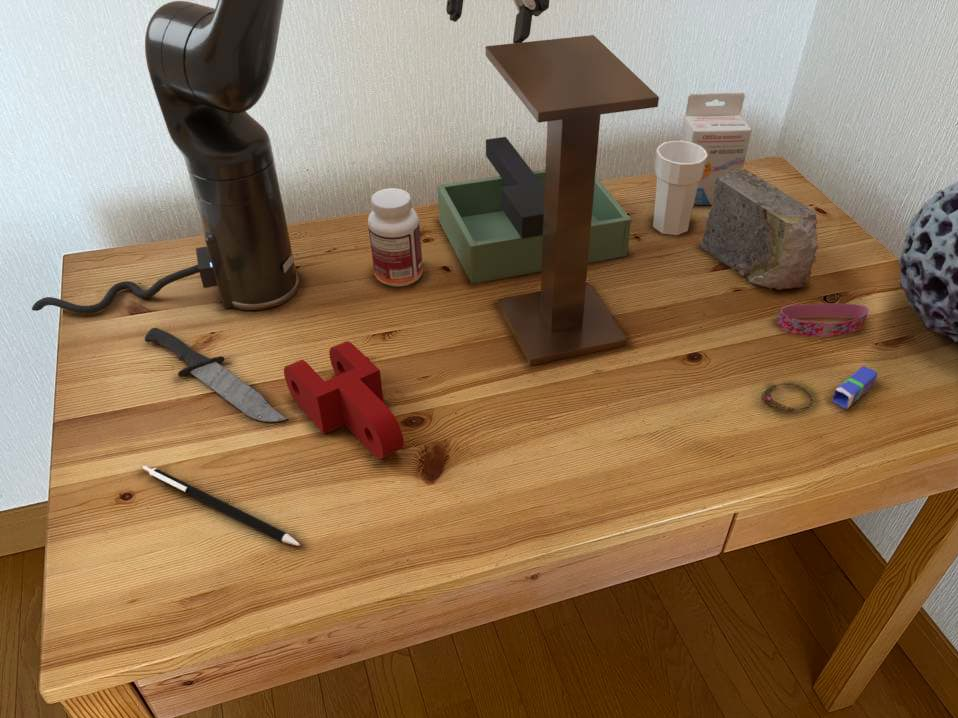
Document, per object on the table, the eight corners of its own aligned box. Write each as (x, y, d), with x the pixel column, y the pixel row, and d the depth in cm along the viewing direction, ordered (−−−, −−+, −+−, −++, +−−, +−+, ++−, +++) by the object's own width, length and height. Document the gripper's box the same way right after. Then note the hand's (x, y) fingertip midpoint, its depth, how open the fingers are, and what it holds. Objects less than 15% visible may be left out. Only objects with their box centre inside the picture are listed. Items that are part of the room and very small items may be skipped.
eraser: (835, 388, 93) (851, 396, 92) (862, 364, 97) (878, 372, 96) (830, 401, 95) (847, 410, 94) (857, 377, 98) (873, 385, 97)
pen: (148, 463, 84) (141, 462, 83) (304, 541, 78) (298, 540, 77) (144, 472, 84) (136, 470, 83) (300, 550, 78) (294, 549, 77)
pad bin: (471, 284, 108) (470, 246, 105) (439, 221, 119) (437, 184, 115) (627, 256, 114) (631, 219, 110) (583, 198, 125) (585, 163, 121)
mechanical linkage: (288, 394, 93) (280, 357, 89) (347, 369, 96) (341, 333, 93) (363, 478, 83) (357, 441, 80) (425, 447, 87) (422, 410, 84)
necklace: (751, 392, 95) (753, 385, 94) (799, 381, 97) (801, 374, 96) (770, 418, 92) (773, 412, 92) (819, 406, 94) (822, 400, 93)
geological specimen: (710, 174, 109) (796, 229, 100) (745, 163, 112) (831, 216, 103) (695, 245, 117) (774, 303, 108) (728, 233, 119) (808, 289, 110)
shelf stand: (530, 366, 97) (538, 112, 77) (487, 287, 108) (485, 45, 88) (626, 345, 101) (659, 96, 80) (576, 270, 111) (593, 34, 91)
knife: (260, 440, 88) (299, 415, 91) (258, 433, 87) (297, 408, 90) (133, 344, 97) (172, 323, 100) (131, 336, 97) (170, 316, 100)
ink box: (680, 207, 124) (696, 109, 114) (671, 189, 127) (686, 93, 117) (736, 204, 125) (757, 107, 115) (726, 187, 128) (746, 91, 118)
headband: (876, 322, 102) (870, 336, 103) (865, 301, 105) (860, 316, 106) (786, 324, 101) (782, 338, 103) (778, 303, 104) (774, 318, 106)
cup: (682, 243, 117) (694, 169, 109) (638, 228, 119) (648, 155, 112) (701, 222, 121) (715, 149, 114) (659, 208, 124) (670, 136, 116)
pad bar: (521, 238, 106) (522, 217, 104) (469, 160, 121) (468, 140, 119) (581, 228, 108) (582, 207, 106) (522, 152, 123) (522, 132, 121)
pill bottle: (397, 255, 113) (389, 179, 105) (433, 271, 110) (428, 195, 103) (364, 276, 109) (354, 199, 101) (400, 294, 106) (393, 216, 99)
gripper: (463, -141, 98) (444, -1, 98) (570, -92, 104) (553, 39, 104) (439, -109, 105) (422, 22, 104) (542, -65, 111) (525, 58, 111)
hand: (487, 30), depth 104 cm, fingers open, 8 cm apart
